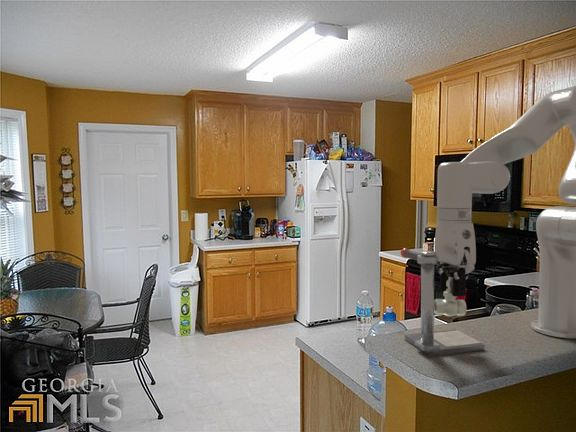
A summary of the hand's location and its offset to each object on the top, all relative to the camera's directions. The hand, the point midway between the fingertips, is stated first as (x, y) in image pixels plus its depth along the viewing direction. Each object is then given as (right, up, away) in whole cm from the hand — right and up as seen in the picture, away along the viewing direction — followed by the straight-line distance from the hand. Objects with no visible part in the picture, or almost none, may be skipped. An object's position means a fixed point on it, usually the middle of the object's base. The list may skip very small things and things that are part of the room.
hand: (452, 292), depth 104 cm
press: (-2, -12, 0) cm, 12 cm away
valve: (-1, -6, 0) cm, 6 cm away
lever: (-9, +7, -1) cm, 11 cm away
